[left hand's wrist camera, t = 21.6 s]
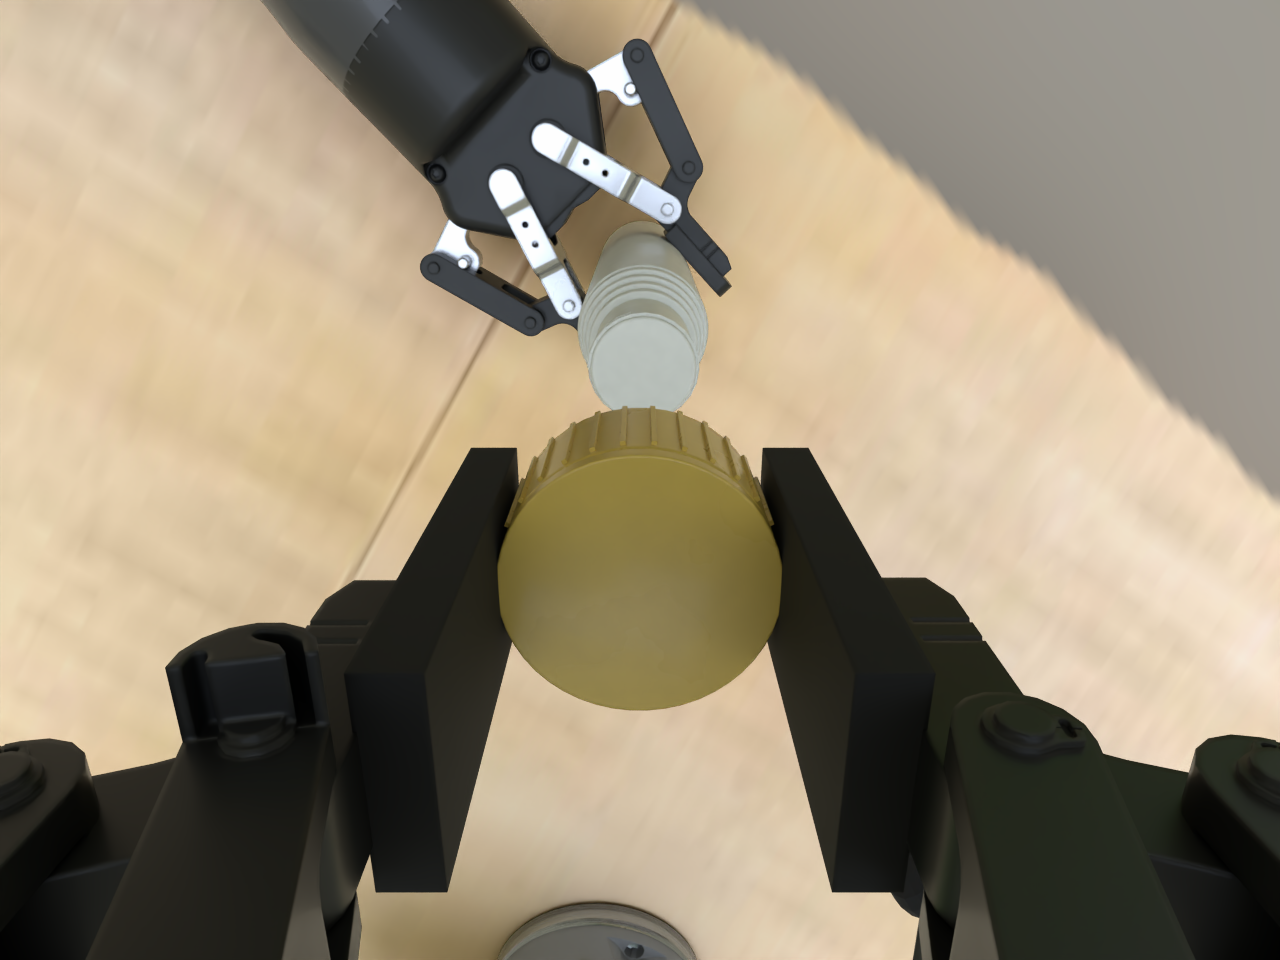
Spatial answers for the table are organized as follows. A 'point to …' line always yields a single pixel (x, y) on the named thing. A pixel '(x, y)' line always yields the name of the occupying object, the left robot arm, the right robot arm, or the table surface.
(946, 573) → the table surface
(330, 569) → the table surface
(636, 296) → the bottle
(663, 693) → the cap
